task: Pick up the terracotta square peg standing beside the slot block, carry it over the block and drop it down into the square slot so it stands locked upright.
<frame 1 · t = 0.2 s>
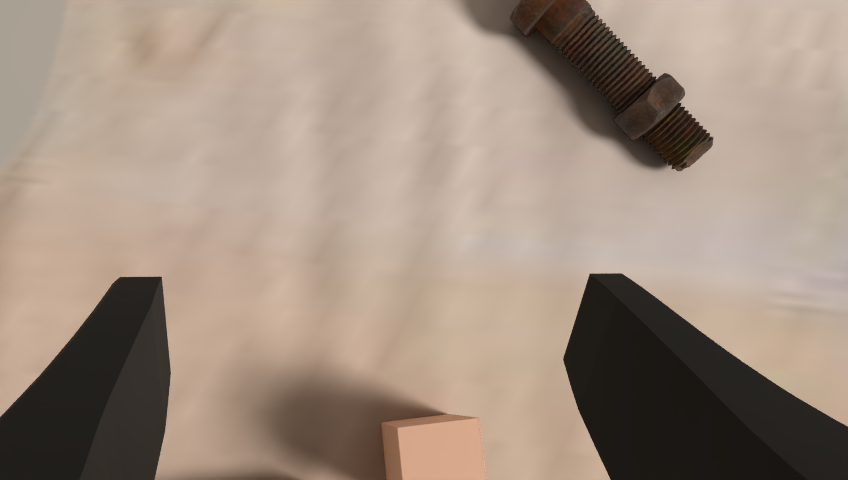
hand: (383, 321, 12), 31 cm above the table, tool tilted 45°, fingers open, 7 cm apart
dark brown elongated piece: (600, 90, 49), on the table
peg: (418, 453, 42), on the table
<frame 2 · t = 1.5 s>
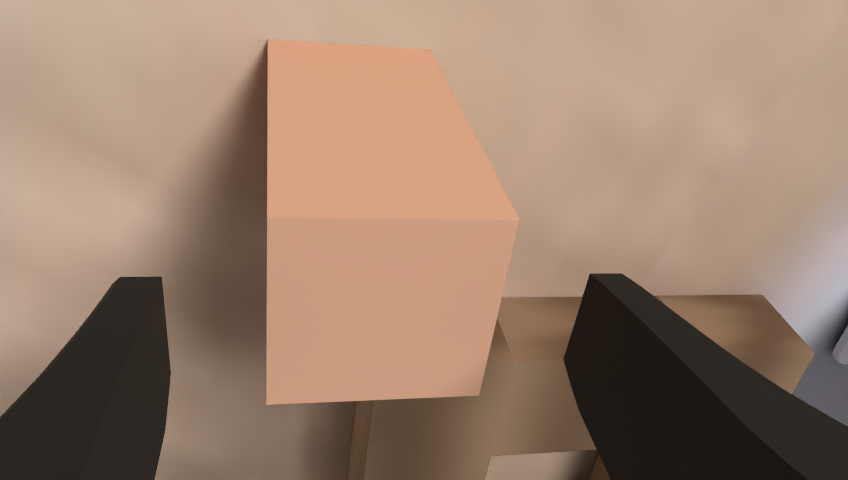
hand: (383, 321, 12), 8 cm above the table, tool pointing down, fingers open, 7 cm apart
slot block: (532, 440, 28), on the table
peg: (345, 119, 19), on the table
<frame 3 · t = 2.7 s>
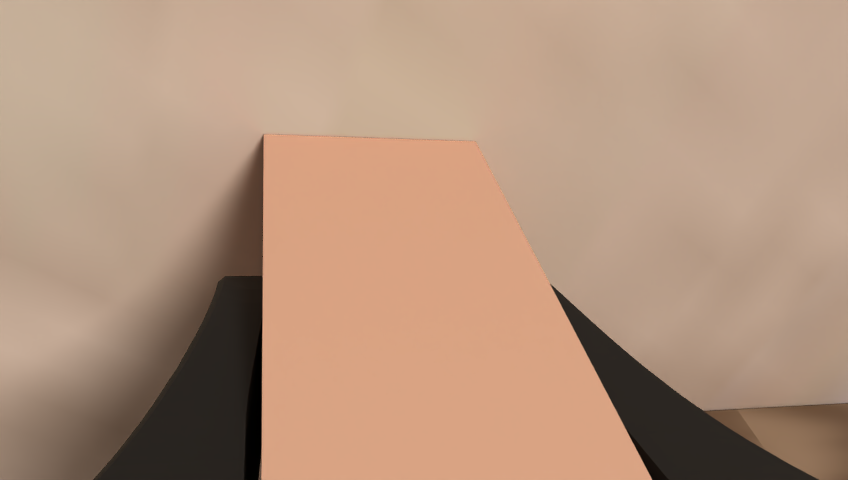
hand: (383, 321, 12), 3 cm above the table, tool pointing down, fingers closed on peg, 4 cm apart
peg: (364, 227, 15), on the table, touching gripper
when the fingers open (4 cm above the table, at t = 6.5 s): peg stays where it is, resting in slot block.
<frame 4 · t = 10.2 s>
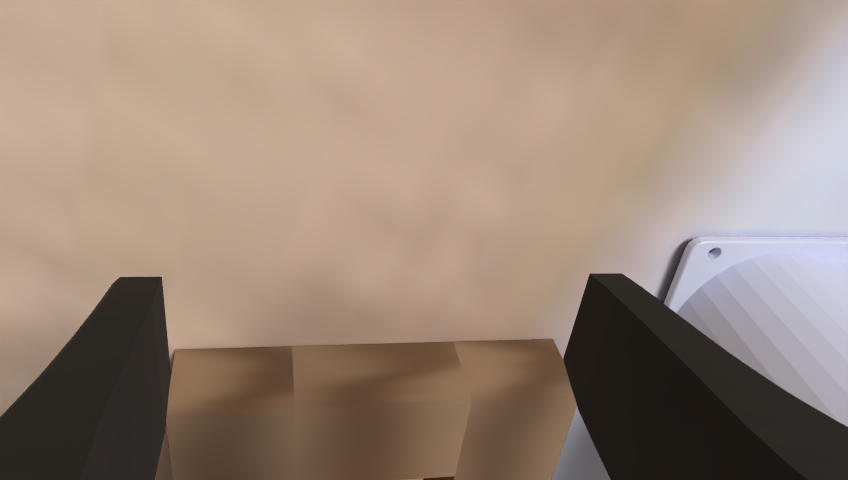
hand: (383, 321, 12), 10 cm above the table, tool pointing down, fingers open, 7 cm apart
slot block: (360, 468, 30), on the table
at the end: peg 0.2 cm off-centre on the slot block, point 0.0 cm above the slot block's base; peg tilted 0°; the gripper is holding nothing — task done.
